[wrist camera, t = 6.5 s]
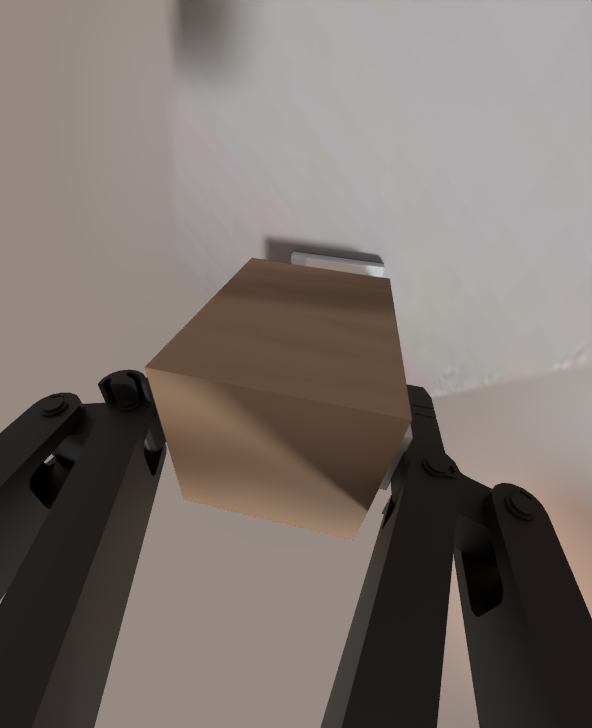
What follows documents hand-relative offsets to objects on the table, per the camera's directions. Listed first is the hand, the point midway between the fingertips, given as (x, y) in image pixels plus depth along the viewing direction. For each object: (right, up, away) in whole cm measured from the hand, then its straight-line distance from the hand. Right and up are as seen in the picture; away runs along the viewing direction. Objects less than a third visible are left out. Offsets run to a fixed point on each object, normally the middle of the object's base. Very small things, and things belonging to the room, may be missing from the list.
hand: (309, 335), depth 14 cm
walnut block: (0, 0, 0) cm, 0 cm away
